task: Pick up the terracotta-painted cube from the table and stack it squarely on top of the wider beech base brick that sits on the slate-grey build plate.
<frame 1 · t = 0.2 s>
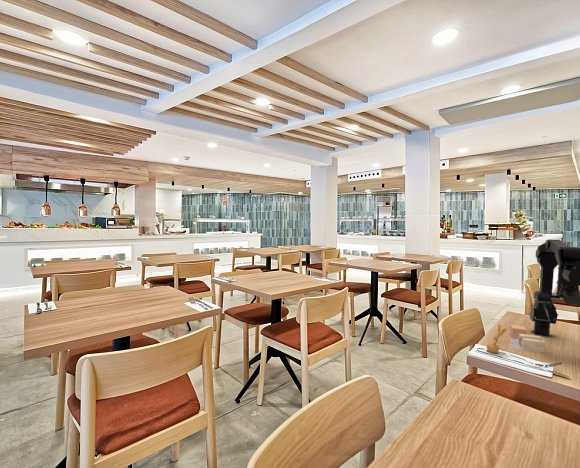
hand: (564, 321, 119), 14 cm above the table, fingers open, 9 cm apart
build plate: (526, 346, 131), on the table
top brick: (517, 338, 140), on the table
base brick: (531, 347, 129), point 1 cm above the table, touching build plate
figurine: (495, 354, 123), on the table
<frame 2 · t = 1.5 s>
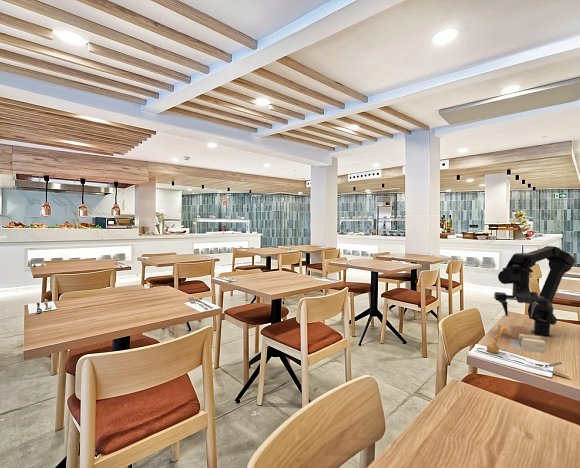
hand: (519, 317, 140), 9 cm above the table, fingers open, 9 cm apart
nothing on the table moved.
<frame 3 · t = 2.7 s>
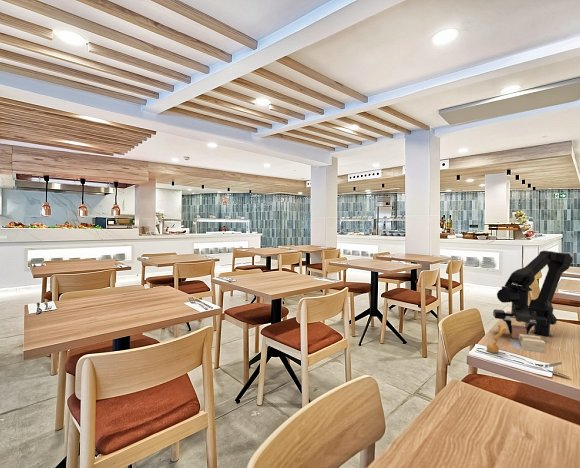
hand: (517, 335, 140), 1 cm above the table, fingers closed on top brick, 5 cm apart
top brick: (517, 338, 140), on the table, touching gripper
everything else where it was.
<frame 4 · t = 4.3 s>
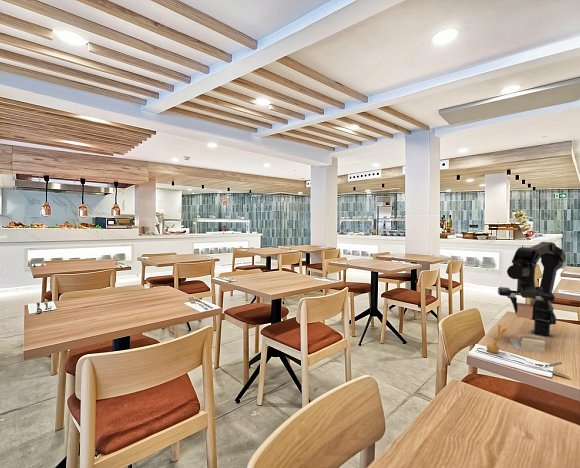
hand: (523, 313, 135), 12 cm above the table, fingers closed on top brick, 5 cm apart
top brick: (523, 316, 135), point 11 cm above the table, touching gripper
everything else where it was.
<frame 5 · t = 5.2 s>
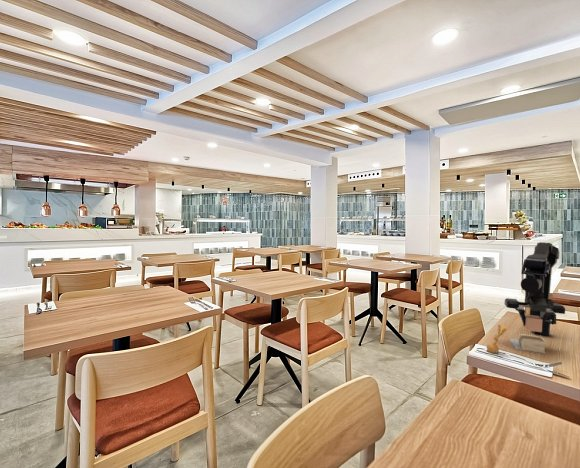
hand: (532, 326, 128), 9 cm above the table, fingers closed on top brick, 5 cm apart
top brick: (532, 329, 128), point 8 cm above the table, touching gripper
everything else where it was.
when the fingers open (7 cm above the table, at t = 6.0 s): top brick drops 1 cm, resting on base brick.
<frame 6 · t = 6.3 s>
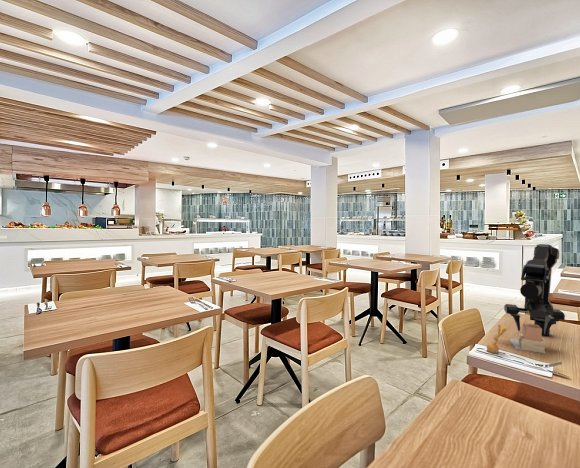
hand: (531, 332, 128), 7 cm above the table, fingers open, 8 cm apart
top brick: (531, 337, 128), point 5 cm above the table, touching base brick
base brick: (531, 347, 129), point 1 cm above the table, touching build plate, top brick
everything else where it was.
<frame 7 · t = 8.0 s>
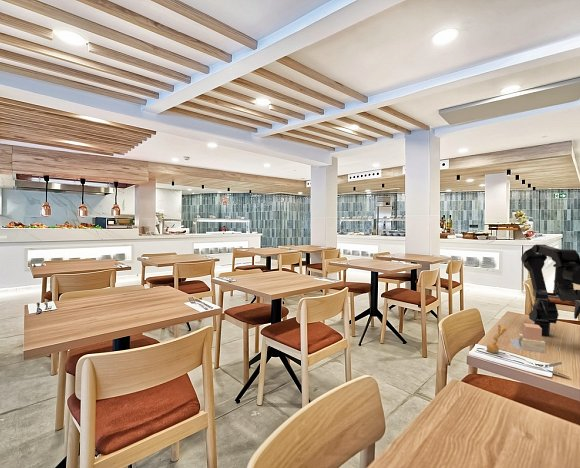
hand: (560, 316, 132), 12 cm above the table, fingers open, 9 cm apart
nothing on the table moved.
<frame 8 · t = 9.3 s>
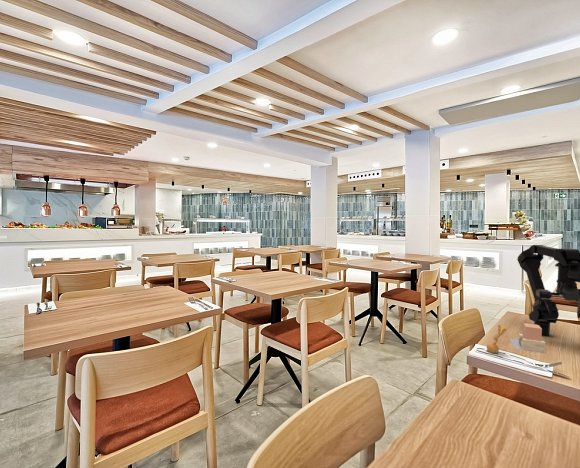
hand: (564, 316, 132), 13 cm above the table, fingers open, 9 cm apart
nothing on the table moved.
at the end: top brick 0.0 cm off-centre on the base brick, point 4.0 cm above the base brick's base; top brick tilted 0°; the gripper is holding nothing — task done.
